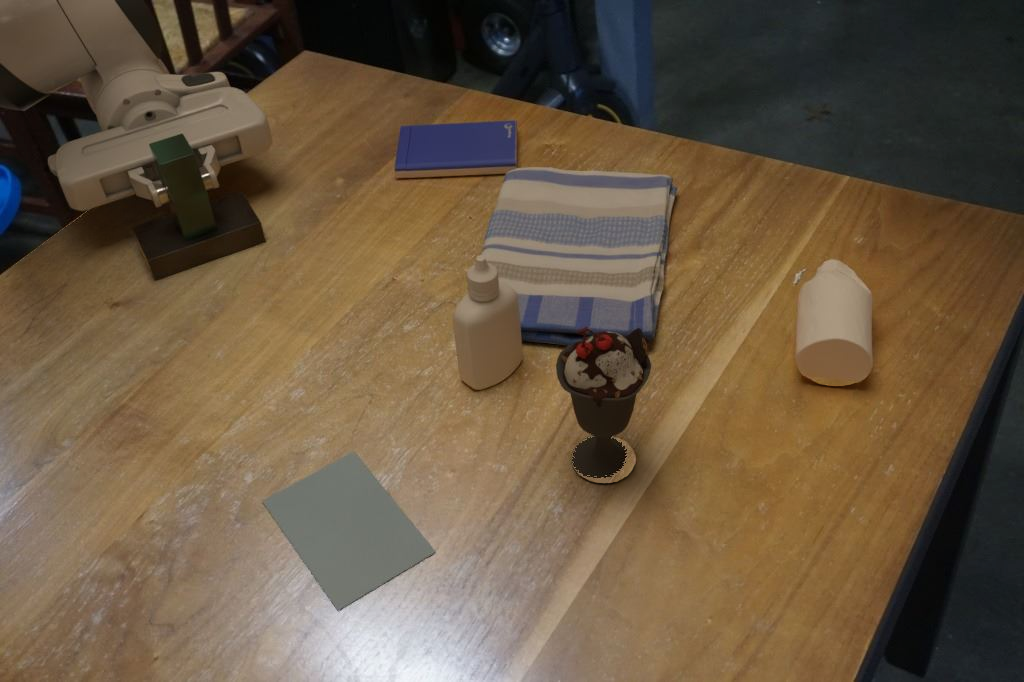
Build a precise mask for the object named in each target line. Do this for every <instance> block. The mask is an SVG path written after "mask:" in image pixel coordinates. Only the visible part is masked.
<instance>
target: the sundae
mask: <svg viewBox="0 0 1024 682" xmlns="http://www.w3.org/2000/svg"><path fill="white" fill-rule="evenodd" d="M586 331H589V332H591V333H592V334H594V335H593V336H589V337H586V333H585V332H586ZM577 332H578V333H579V334H584V337H583V339H582V340H579V341H577V342H575V343H573V344H570V345H566V346H565V347H564V348H563V349H562V350H561V351H560V352H559V355H558V356H557V360H556V364H555V369H556V376H557V380H558V382H559V384H560V387H561V388H562V389H563V390H564V391H565V392H567V393H568V394H570V398H571V402H572V407H573V412H574V415H575V418H576V421H577V424H578V426H579V427H580V428H581V430H582V431H584V432H585V433H587V434H589V435H590V436H593V435H594V437H592V438H591V437H590V436H589V437H590V438H588V437H586V438H587V440H585V441H582V440H581V441H582V443H580V442H578V444H579V445H578V444H576V445H575V447H574V448H575V451H576V452H575V451H574V453H573V452H572V453H573V456H574V457H575V458H574V457H572V458H573V459H572V461H573V462H574V463H573V462H571V464H572V463H573V466H574V467H576V468H575V469H576V470H579V473H582V474H583V476H587V475H590V476H587V477H593V478H601V477H604V478H606V477H612V476H610V475H614V474H613V473H617V472H616V471H620V470H619V469H621V468H622V466H624V465H623V464H624V463H623V462H624V461H625V458H626V457H627V456H625V455H626V454H627V453H625V452H626V451H627V449H626V450H624V449H625V446H623V447H622V442H621V443H620V442H618V441H617V440H616V439H614V438H612V439H611V437H612V436H617V435H619V434H621V433H622V432H624V431H625V430H626V428H627V427H628V426H629V424H630V421H631V418H632V416H633V412H634V408H635V405H636V404H635V403H636V400H637V394H639V392H640V391H641V390H642V388H643V387H644V386H645V384H646V383H647V382H648V380H649V377H650V374H651V370H652V363H651V360H650V359H651V358H650V356H649V349H648V344H647V345H646V342H645V339H644V337H643V334H642V330H641V329H640V328H637V329H635V330H634V331H633V332H631V333H630V334H629V335H627V336H626V337H623V336H622V335H620V334H618V333H616V332H610V331H603V332H599V333H597V334H596V333H595V332H593V331H591V330H589V329H587V326H586V327H585V328H583V329H580V330H578V331H577ZM576 447H577V448H576ZM625 463H626V462H625ZM573 466H572V467H573ZM577 472H578V471H577ZM605 475H607V476H605ZM594 476H597V477H594Z"/></svg>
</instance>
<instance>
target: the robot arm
mask: <svg viewBox="0 0 1024 682" xmlns="http://www.w3.org/2000/svg"><path fill="white" fill-rule="evenodd" d="M162 49H163V34H162V31H161V29H160V27H159V24H158V23H157V21H156V19H155V17H154V15H153V13H152V11H151V10H150V8H149V7H148V6H147V4H146V2H145V1H144V0H0V108H3V109H8V110H14V111H22V112H25V111H27V110H28V109H30V108H31V107H33V106H35V105H37V104H38V103H40V102H41V101H43V100H44V99H47V98H48V97H49V96H51V95H52V94H53V93H54V92H55V91H57V90H60V89H62V88H64V87H65V86H67V85H69V84H72V83H74V82H75V81H77V80H80V84H81V86H82V90H83V92H84V95H85V97H86V101H87V102H88V105H89V106H90V108H91V110H92V111H93V113H94V115H96V120H97V123H98V125H99V127H100V129H101V131H99V132H96V133H93V134H90V135H87V136H83V137H80V138H77V139H73V140H71V141H67V142H66V143H64V144H61V146H60V147H59V148H58V149H57V151H56V152H55V153H53V154H52V155H51V154H50V155H49V156H48V158H47V165H48V168H49V170H50V172H51V173H52V174H53V175H54V176H56V177H57V179H58V182H59V184H60V188H61V190H62V192H63V195H64V197H65V200H66V202H67V205H68V206H69V208H70V209H72V210H75V211H79V212H80V211H81V212H84V211H88V210H92V209H94V208H97V207H100V206H104V205H106V204H109V203H113V202H116V201H119V200H122V199H125V198H129V197H131V196H135V195H136V196H137V197H139V198H143V199H145V200H150V201H152V202H153V204H154V206H155V208H160V207H163V206H167V205H169V203H171V200H170V197H169V194H168V191H167V189H166V186H165V185H164V183H163V181H162V180H161V179H160V176H159V173H158V170H157V167H156V164H155V161H154V158H153V155H152V152H151V149H150V146H149V144H150V143H153V142H156V141H160V140H163V139H166V138H169V137H172V136H176V135H179V134H183V135H184V136H185V138H186V140H187V141H188V143H189V145H190V146H191V148H192V150H193V151H194V153H195V156H196V159H197V162H198V165H199V169H200V172H201V175H202V179H203V182H204V185H205V188H206V192H207V191H210V190H211V191H212V190H214V189H217V188H220V184H219V181H218V175H219V173H220V171H221V167H224V166H227V165H230V164H232V163H235V162H236V163H237V162H239V161H242V160H245V159H248V158H251V157H254V156H258V155H261V154H264V153H267V152H268V151H269V150H270V149H271V147H272V145H273V141H274V139H273V136H272V131H271V127H270V124H269V121H268V117H267V116H266V114H265V112H264V111H263V109H262V108H261V107H260V106H259V105H258V103H257V102H256V101H255V100H254V99H252V97H250V95H248V94H247V93H246V92H245V91H244V90H242V89H239V88H237V87H233V86H231V84H230V82H229V80H228V77H227V75H226V74H225V73H223V72H221V71H212V72H211V71H210V72H203V73H191V74H171V73H170V72H169V70H168V68H167V66H166V65H165V63H164V62H163V61H162V59H161V57H162V51H163V50H162Z"/></svg>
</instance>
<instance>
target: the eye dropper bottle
mask: <svg viewBox="0 0 1024 682" xmlns="http://www.w3.org/2000/svg"><path fill="white" fill-rule="evenodd" d="M466 281H467V291H468V292H466V293H465V295H463V297H462V298H461V299H460V301H459V302H458V304H457V305H456V307H455V309H454V310H453V313H452V324H453V325H452V326H453V334H454V341H455V350H456V358H457V365H458V373H459V379H461V381H462V382H464V383H465V384H466V385H467V386H469V387H470V388H471V389H473V390H479V391H481V390H485V389H488V388H490V387H492V386H495V385H497V384H499V383H501V382H503V381H504V380H506V379H507V378H508V377H510V376H511V375H512V374H513V373H514V372H515V371H516V369H518V367H519V366H520V364H521V363H522V361H523V355H524V354H523V341H522V338H521V325H520V312H519V302H518V295H517V293H516V291H515V290H514V289H513V288H512V287H510V286H509V285H507V284H505V283H503V282H499V279H498V270H497V268H496V267H495V266H494V265H492V264H489V263H487V261H486V258H485V256H483V255H481V254H480V255H477V256H476V257H475V263H474V264H473V265H471V266H470V267H468V269H467V271H466Z"/></svg>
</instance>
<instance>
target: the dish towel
mask: <svg viewBox="0 0 1024 682" xmlns="http://www.w3.org/2000/svg"><path fill="white" fill-rule="evenodd" d="M673 182H674V178H673V177H672V176H669V174H668V173H667V174H662V173H659V174H651V173H650V174H649V173H644V172H643V173H642V172H624V171H604V170H596V169H595V170H594V169H593V170H574V169H573V170H572V169H571V170H570V169H559V168H557V167H556V168H555V167H550V166H545V167H542V166H526V167H525V166H524V167H517V169H513V170H511V171H509V172H507V173H505V175H504V178H503V180H502V185H501V187H500V189H499V192H498V195H497V199H496V203H495V206H494V208H493V211H492V213H491V216H490V219H489V222H488V225H487V229H486V232H485V235H484V239H483V247H482V251H481V253H480V255H483V256H485V258H486V261H487V263H489V264H492V265H494V266H495V267H496V268H497V270H498V279H499V282H503V283H505V284H507V285H509V286H510V287H512V288H513V289H514V290H515V291H516V293H517V295H518V302H519V312H520V325H521V338H522V342H531V343H539V344H540V343H541V344H553V345H559V346H569V345H570V344H573V343H575V342H577V341H579V340H582V339H583V337H584V334H579V333H578V332H577V331H578V330H580V329H583V328H585V327H586V326H587V329H589V330H591V331H593V332H595V333H596V334H597V333H599V332H603V331H610V332H616V333H618V334H620V335H622V336H623V337H626V336H627V335H629V334H630V333H631V332H633V331H634V330H635V329H637V328H640V329H641V330H642V334H643V337H644V339H645V342H646V345H647V346H648V342H649V340H654V339H655V336H656V335H655V334H656V328H657V323H658V317H659V309H660V303H661V298H662V293H663V291H664V286H665V264H666V257H667V253H668V249H669V247H668V246H669V235H670V222H671V217H672V211H673V207H674V202H675V200H676V193H677V191H678V186H677V185H675V184H673ZM585 333H586V337H589V336H593V335H594V334H592V333H591V332H589V331H586V332H585Z"/></svg>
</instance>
